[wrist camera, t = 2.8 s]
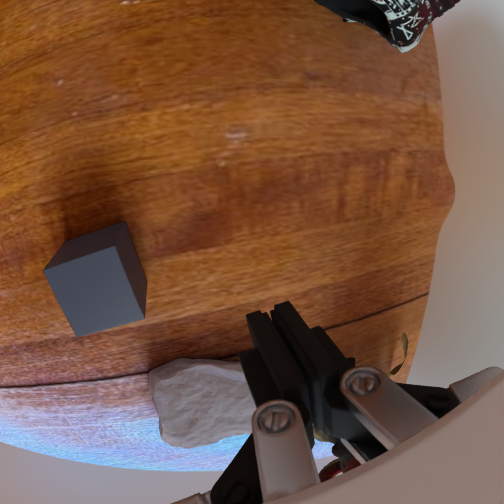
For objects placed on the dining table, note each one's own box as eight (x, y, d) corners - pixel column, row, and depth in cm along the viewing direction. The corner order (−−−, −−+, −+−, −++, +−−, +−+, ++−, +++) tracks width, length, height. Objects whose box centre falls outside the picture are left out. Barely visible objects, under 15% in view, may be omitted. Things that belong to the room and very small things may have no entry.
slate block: (64, 241, 20) (42, 270, 15) (125, 220, 20) (115, 245, 16) (90, 299, 22) (77, 337, 17) (147, 282, 23) (145, 318, 18)
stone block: (140, 351, 26) (162, 429, 28) (139, 378, 22) (165, 460, 24) (263, 331, 30) (268, 409, 32) (282, 353, 25) (284, 435, 27)
